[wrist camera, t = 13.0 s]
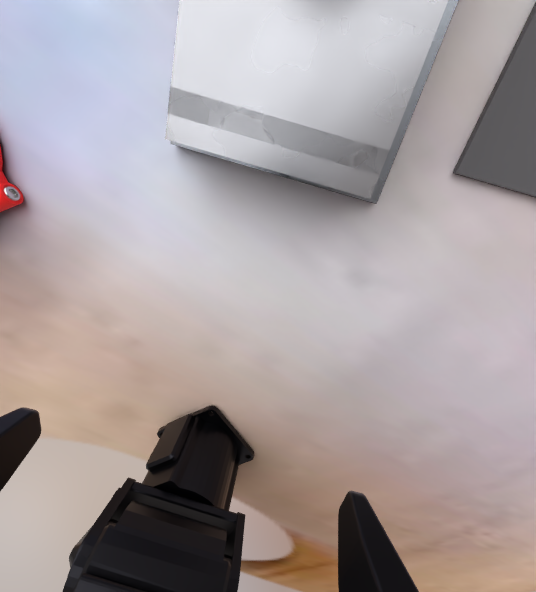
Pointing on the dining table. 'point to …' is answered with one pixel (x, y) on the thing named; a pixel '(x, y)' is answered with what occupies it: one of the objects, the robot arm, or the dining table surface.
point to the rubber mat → (508, 124)
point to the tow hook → (8, 191)
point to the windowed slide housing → (303, 84)
